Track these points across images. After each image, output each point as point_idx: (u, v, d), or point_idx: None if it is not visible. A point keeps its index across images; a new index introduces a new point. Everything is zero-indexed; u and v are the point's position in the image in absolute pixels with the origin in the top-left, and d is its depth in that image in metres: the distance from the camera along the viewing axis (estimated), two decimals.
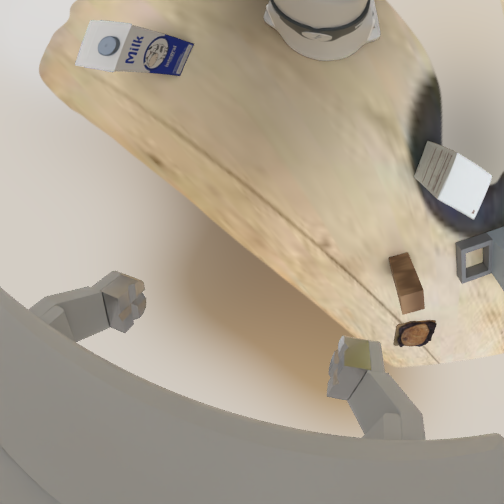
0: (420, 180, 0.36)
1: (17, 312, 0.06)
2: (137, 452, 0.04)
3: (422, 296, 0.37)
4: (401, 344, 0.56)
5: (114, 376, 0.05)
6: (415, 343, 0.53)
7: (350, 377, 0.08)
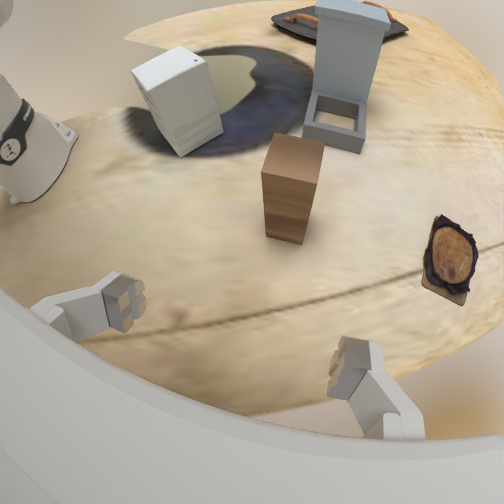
0: (170, 139, 0.31)
1: (17, 312, 0.06)
2: (137, 452, 0.04)
3: (288, 137, 0.20)
4: (463, 287, 0.25)
5: (114, 376, 0.05)
6: (465, 254, 0.24)
7: (350, 377, 0.08)
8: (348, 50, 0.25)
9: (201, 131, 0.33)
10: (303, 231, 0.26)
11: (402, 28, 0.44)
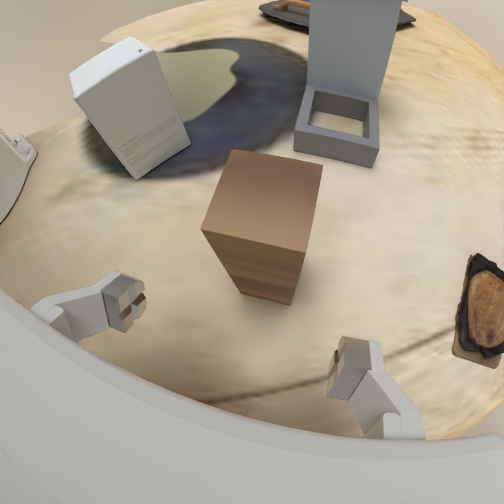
0: (118, 158, 0.23)
1: (17, 312, 0.06)
2: (137, 453, 0.04)
3: (257, 157, 0.11)
4: (500, 348, 0.16)
5: (114, 376, 0.05)
6: None
7: (350, 377, 0.08)
8: (353, 28, 0.17)
9: (159, 144, 0.24)
10: (290, 296, 0.18)
11: (409, 18, 0.36)
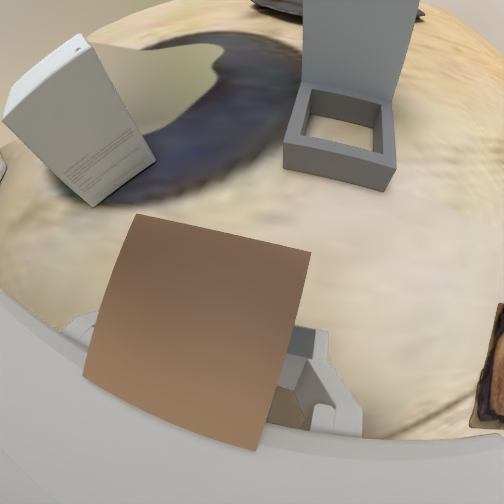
0: None
1: (17, 312, 0.06)
2: (137, 452, 0.04)
3: (176, 232, 0.06)
4: None
5: None
6: None
7: (291, 365, 0.08)
8: (362, 8, 0.12)
9: (114, 164, 0.19)
10: None
11: (417, 12, 0.31)
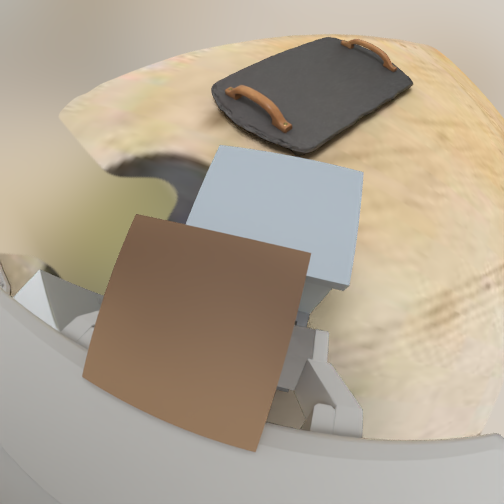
0: None
1: (17, 312, 0.06)
2: (137, 453, 0.04)
3: (176, 233, 0.06)
4: None
5: None
6: None
7: (291, 365, 0.08)
8: None
9: None
10: None
11: (404, 84, 0.38)
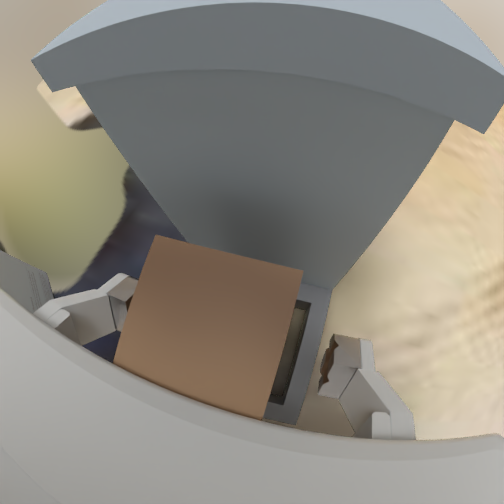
0: None
1: (17, 312, 0.06)
2: (137, 453, 0.04)
3: (191, 253, 0.07)
4: None
5: (114, 376, 0.05)
6: None
7: (340, 375, 0.08)
8: (256, 199, 0.08)
9: None
10: None
11: None
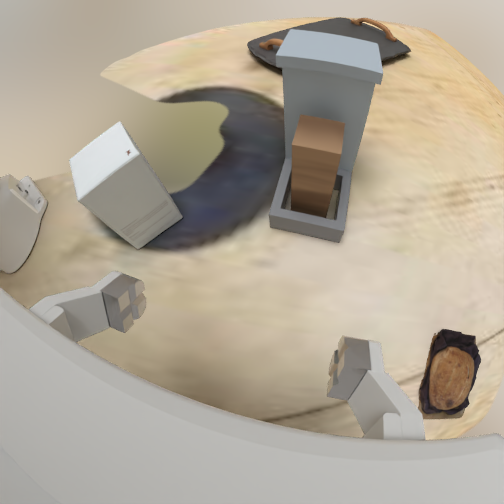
0: (121, 235, 0.29)
1: (17, 312, 0.06)
2: (137, 452, 0.04)
3: (313, 118, 0.21)
4: (462, 405, 0.20)
5: (114, 376, 0.05)
6: (466, 379, 0.20)
7: (350, 377, 0.08)
8: (326, 111, 0.23)
9: (155, 223, 0.30)
10: (326, 207, 0.28)
11: (402, 49, 0.42)
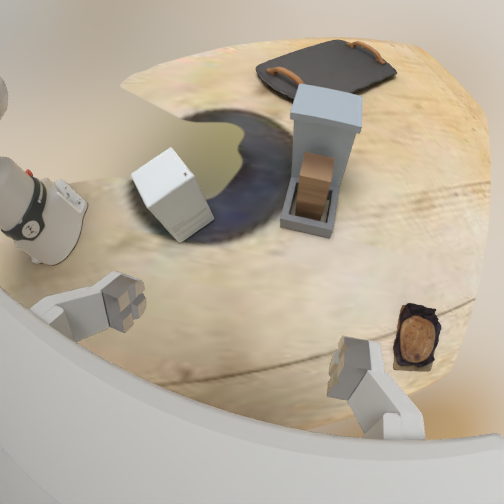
0: (170, 232, 0.41)
1: (17, 312, 0.06)
2: (137, 452, 0.04)
3: (313, 155, 0.34)
4: (428, 360, 0.33)
5: (114, 376, 0.05)
6: (428, 338, 0.32)
7: (350, 377, 0.08)
8: (322, 148, 0.35)
9: (195, 223, 0.42)
10: (320, 213, 0.40)
11: (389, 72, 0.54)
